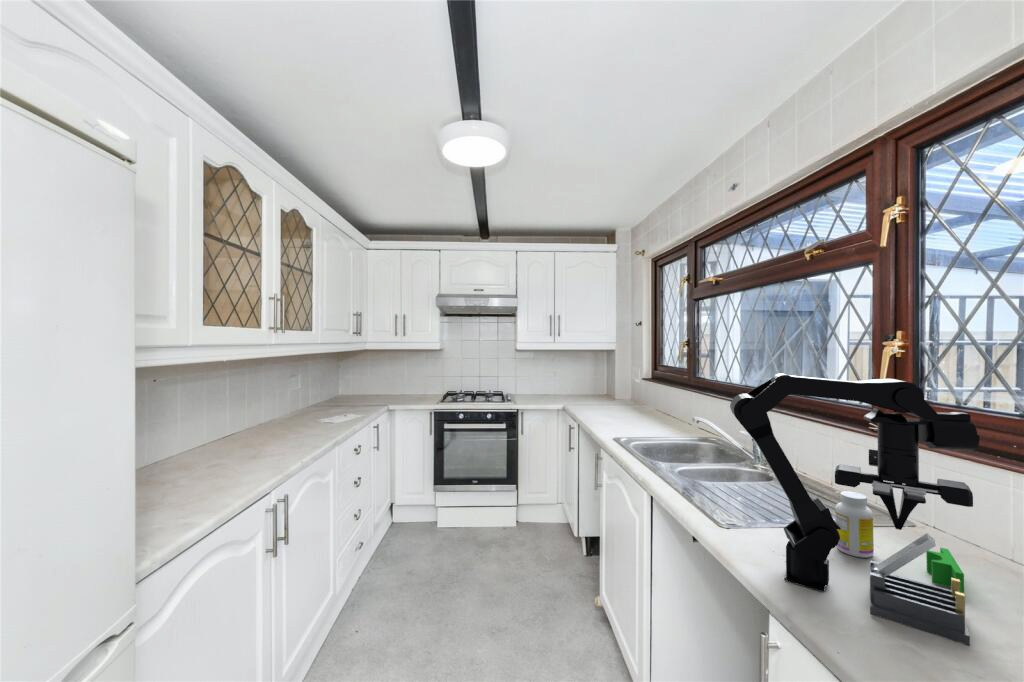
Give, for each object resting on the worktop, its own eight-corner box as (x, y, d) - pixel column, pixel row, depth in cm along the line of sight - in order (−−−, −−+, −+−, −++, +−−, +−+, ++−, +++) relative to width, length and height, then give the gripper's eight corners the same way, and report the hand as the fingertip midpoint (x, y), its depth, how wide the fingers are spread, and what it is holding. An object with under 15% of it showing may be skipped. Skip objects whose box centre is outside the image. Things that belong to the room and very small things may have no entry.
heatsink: (870, 614, 75) (869, 575, 74) (870, 587, 82) (870, 553, 82) (969, 645, 67) (969, 602, 67) (960, 613, 74) (960, 575, 74)
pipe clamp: (923, 565, 90) (923, 543, 90) (948, 570, 88) (947, 548, 88) (936, 591, 81) (936, 567, 81) (964, 597, 79) (964, 573, 79)
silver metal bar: (878, 584, 76) (868, 575, 77) (878, 576, 79) (868, 567, 80) (938, 547, 71) (926, 538, 72) (935, 539, 74) (924, 531, 75)
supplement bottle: (874, 550, 96) (874, 494, 96) (872, 562, 91) (872, 503, 91) (837, 541, 101) (836, 487, 100) (834, 552, 96) (833, 495, 96)
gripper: (963, 445, 80) (963, 527, 80) (838, 431, 92) (838, 503, 92) (973, 458, 71) (973, 551, 71) (834, 442, 83) (834, 520, 84)
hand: (898, 528), depth 80 cm, fingers closed
